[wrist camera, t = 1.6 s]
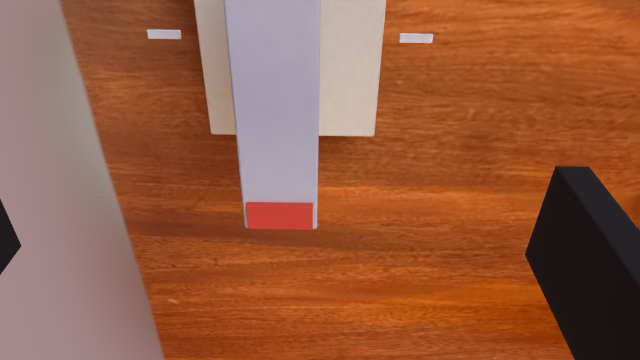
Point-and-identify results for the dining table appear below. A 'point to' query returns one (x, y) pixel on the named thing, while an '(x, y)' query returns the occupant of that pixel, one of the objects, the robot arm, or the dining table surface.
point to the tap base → (335, 64)
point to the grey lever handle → (276, 108)
